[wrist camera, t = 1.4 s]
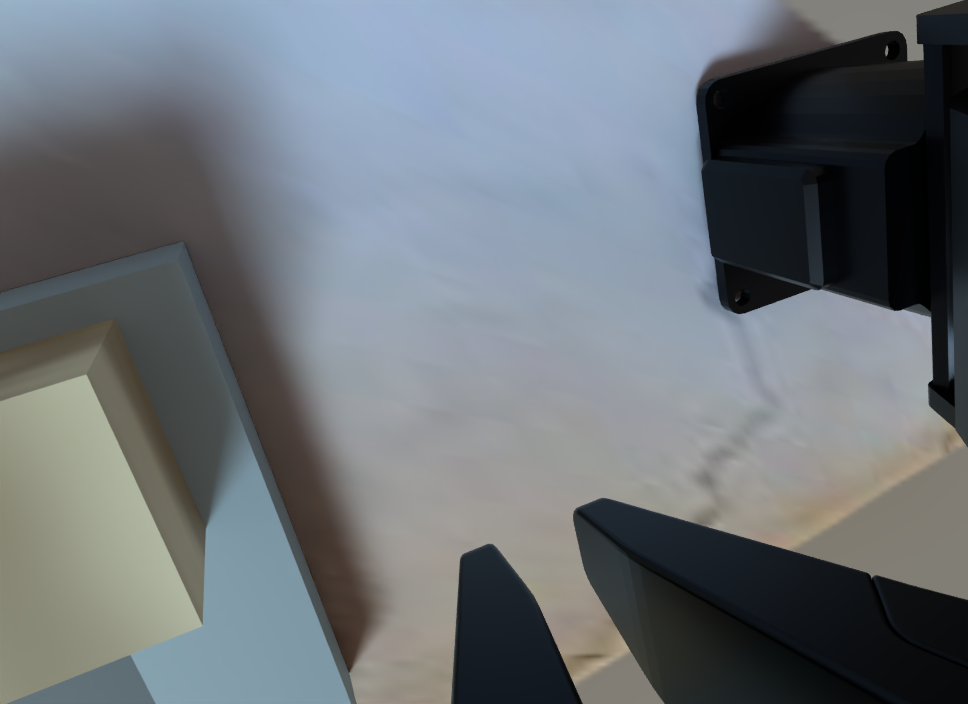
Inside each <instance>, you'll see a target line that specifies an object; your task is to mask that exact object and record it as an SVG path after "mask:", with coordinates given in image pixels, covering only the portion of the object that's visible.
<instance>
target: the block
mask: <svg viewBox="0 0 968 704" xmlns="http://www.w3.org/2000/svg"><path fill="white" fill-rule="evenodd" d="M205 540H206V528H205V525H204V523H203V521H202V518H201V516H200V514H199V511H198V509H197V507H196V504H195V502H194V500H193V498H192V495H191V493H190V491H189V488H188V486H187V484H186V481H185V479H184V477H183V475H182V472H181V470H180V468H179V465H178V463H177V461H176V458H175V456H174V454H173V452H172V449H171V447H170V445H169V442H168V440H167V438H166V435H165V433H164V431H163V429H162V426H161V424H160V422H159V419H158V417H157V415H156V412H155V410H154V408H153V405H152V403H151V401H150V399H149V396H148V394H147V392H146V389H145V387H144V385H143V382H142V380H141V378H140V376H139V373H138V371H137V369H136V366H135V364H134V362H133V359H132V357H131V355H130V353H129V350H128V348H127V346H126V343H125V341H124V339H123V336H122V334H121V332H120V329H119V327H118V325H117V323H116V320H115V319H111V320H108V321H104V322H101V323H98V324H94V325H91V326H88V327H84V328H81V329H78V330H74V331H71V332H67V333H64V334H61V335H57V336H54V337H51V338H47V339H44V340H41V341H37V342H34V343H31V344H27V345H24V346H20V347H17V348H14V349H10V350H7V351H4V352H0V704H7V703H10V702H12V701H15V700H17V699H20V698H22V697H25V696H27V695H30V694H32V693H35V692H37V691H40V690H42V689H45V688H48V687H50V686H53V685H55V684H58V683H60V682H63V681H65V680H68V679H70V678H73V677H75V676H78V675H80V674H83V673H85V672H88V671H91V670H93V669H96V668H98V667H101V666H103V665H106V664H108V663H111V662H113V661H116V660H118V659H121V658H123V657H126V656H129V655H131V654H134V653H136V652H139V651H141V650H144V649H146V648H149V647H151V646H154V645H156V644H159V643H161V642H164V641H166V640H169V639H172V638H174V637H177V636H179V635H182V634H184V633H187V632H189V631H192V630H194V629H197V628H199V627H202V626H203V604H204V572H205Z"/></svg>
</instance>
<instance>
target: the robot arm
mask: <svg viewBox="0 0 968 704" xmlns="http://www.w3.org/2000/svg"><path fill="white" fill-rule="evenodd" d="M916 18H917V44H923V51H924V60H920V61H907V44H906V39H905V37H904V36H903V34H902V33H900V32H898V31H890V32H883V33H878V34H874V35H870V36H867V37H863V38H859V39H856V40H852V41H848V42H845V43H841V44H838V45H834V46H830V47H827V48H823V49H820V50H816V51H812V52H809V53H805V54H801V55H798V56H794V57H791V58H787V59H783V60H780V61H776V62H773V63H769V64H765V65H762V66H758V67H754V68H751V69H747V70H744V71H740V72H736V73H733V74H729V75H726V76H722V77H718V78H715V79H711V80H709V81H707V82H705V83H704V84H703V85H702V86H701V88H700V89H699V91H698V94H697V100H696V105H697V114H698V122H699V131H700V139H701V148H702V156H703V164H704V166H703V168H702V181H703V189H704V198H705V206H706V214H707V223H708V231H709V239H710V248H711V254H712V256H713V257H714V258H715V266H716V274H717V283H718V291H719V299H720V302H721V305H722V306H723V307H724V308H725V309H726V310H729V311H731V312H734V313H737V314H743V313H747V312H749V311H752V310H755V309H758V308H761V307H763V306H766V305H769V304H772V303H774V302H777V301H780V300H783V299H786V298H788V297H791V296H794V295H797V294H799V293H802V292H805V291H808V290H810V289H813V290H820V289H822V290H826V291H829V292H832V293H836V294H839V295H843V296H846V297H849V298H853V299H856V300H860V301H863V302H866V303H870V304H873V305H877V306H880V307H883V308H887V309H890V310H894V311H899V310H903V309H904V310H907V311H911V312H914V313H918V314H921V315H925V316H928V317H931V327H932V362H933V380H932V381H931V382H929V384H928V396H929V406H930V407H931V408H932V409H933V410H934V411H936V412H937V413H938V414H939V415H940V416H941V417H943V418H944V419H945V420H946V421H947V422H948V423H949V424H951V425H952V426H953V427H954V428H955V430H956V431H957V433H958V434H959V435H960V437H961V438H962V440H963V441H964V443H965V444H966V446H967V447H968V0H964V1H960V2H957V3H954V4H951V5H947V6H944V7H941V8H937V9H934V10H931V11H927V12H924V13H921V14H918V15H917V16H916ZM886 46H888V55H887V56H886V55H885V49H886ZM716 91H719V92H720V95H721V102H720V104H719V106H718V107H717V108H716V107H715V105H714V102H713V98H714V95H715V93H716ZM740 289H741V291H742V294H741V297H740V299H739V300H738V301H735V296H736V294H737V292H738V291H739V290H740ZM573 521H574V526H575V531H576V535H577V540H578V544H579V549H580V554H581V558H582V563H583V567H584V570H585V573H586V575H587V578H588V580H589V582H590V584H591V585H592V587H593V589H594V591H595V592H596V594H597V596H598V597H599V599H600V601H601V602H602V604H603V606H604V607H605V609H606V611H607V612H608V614H609V616H610V617H611V619H612V621H613V622H614V624H615V626H616V627H617V629H618V631H619V632H620V634H621V636H622V637H623V639H624V641H625V642H626V644H627V646H628V647H629V649H630V651H631V652H632V654H633V656H634V657H635V659H636V661H637V662H638V664H639V666H640V667H641V669H642V671H643V672H644V674H645V675H646V677H647V679H648V680H649V682H650V684H651V685H652V687H653V688H654V690H655V691H656V692H657V694H658V695H659V696H660V698H661V699H662V701H663V702H664V703H665V704H968V600H965V599H962V598H958V597H954V596H950V595H946V594H943V593H939V592H935V591H932V590H928V589H924V588H920V587H917V586H913V585H909V584H906V583H902V582H899V581H895V580H892V579H888V578H885V577H881V576H878V575H875V576H873V577H872V579H871V576H870V575H869V574H868V573H866V572H863V571H859V570H856V569H852V568H849V567H845V566H842V565H838V564H835V563H831V562H828V561H824V560H820V559H817V558H814V557H810V556H807V555H803V554H800V553H796V552H793V551H789V550H786V549H782V548H779V547H775V546H772V545H768V544H765V543H761V542H758V541H754V540H751V539H747V538H744V537H740V536H737V535H734V534H730V533H727V532H723V531H720V530H716V529H713V528H709V527H706V526H702V525H699V524H695V523H692V522H688V521H685V520H681V519H678V518H674V517H671V516H667V515H664V514H660V513H657V512H653V511H650V510H646V509H643V508H639V507H636V506H632V505H629V504H625V503H622V502H618V501H615V500H611V499H607V498H600V499H597V500H595V501H593V502H590V503H588V504H585V505H583V506H580V507H578V508H576V509H575V511H574V513H573ZM451 704H583V703H582V701H581V699H580V697H579V695H578V693H577V690H576V688H575V685H574V683H573V681H572V679H571V677H570V674H569V672H568V670H567V668H566V665H565V663H564V661H563V659H562V656H561V654H560V652H559V650H558V647H557V645H556V643H555V641H554V638H553V636H552V634H551V632H550V629H549V627H548V625H547V623H546V620H545V618H544V616H543V614H542V611H541V609H540V607H539V605H538V603H537V601H536V599H535V597H534V596H533V594H532V593H531V591H530V590H529V589H528V587H527V586H526V584H525V583H524V582H523V581H522V579H521V578H520V577H519V576H518V574H517V573H516V572H515V570H514V569H513V568H512V567H511V565H510V564H509V563H508V562H507V560H506V559H505V558H504V556H503V555H502V554H501V553H500V551H499V550H498V549H497V548H496V547H495V546H494V545H493V544H487V545H484V546H482V547H479V548H477V549H474V550H472V551H469V552H467V553H465V554H463V555H462V556H461V559H460V569H459V585H458V601H457V617H456V633H455V649H454V665H453V681H452V697H451Z"/></svg>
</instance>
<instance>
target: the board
mask: <svg viewBox="0 0 968 704" xmlns="http://www.w3.org/2000/svg"><path fill="white" fill-rule="evenodd" d="M111 319H115V320H116V323H117V325H118V327H119V329H120V332H121V334H122V336H123V339H124V341H125V343H126V346H127V348H128V350H129V353H130V355H131V357H132V359H133V362H134V364H135V366H136V369H137V371H138V373H139V376H140V378H141V380H142V382H143V385H144V387H145V389H146V392H147V394H148V396H149V399H150V401H151V403H152V405H153V408H154V410H155V412H156V415H157V417H158V419H159V422H160V424H161V426H162V429H163V431H164V433H165V435H166V438H167V440H168V442H169V445H170V447H171V449H172V452H173V454H174V456H175V458H176V461H177V463H178V465H179V468H180V470H181V472H182V475H183V477H184V479H185V481H186V484H187V486H188V488H189V491H190V493H191V495H192V498H193V500H194V502H195V504H196V507H197V509H198V511H199V514H200V516H201V518H202V521H203V523H204V525H205V528H206V540H205V572H204V604H203V626H202V627H199V628H197V629H194V630H192V631H189V632H187V633H184V634H182V635H179V636H177V637H174V638H172V639H169V640H166V641H164V642H161V643H159V644H156V645H154V646H151V647H149V648H146V649H144V650H141V651H139V652H136V653H134V654H131V655H129V656H126V657H123V658H121V659H118V660H116V661H113V662H111V663H108V664H106V665H103V666H101V667H98V668H96V669H93V670H91V671H88V672H85V673H83V674H80V675H78V676H75V677H73V678H70V679H68V680H65V681H63V682H60V683H58V684H55V685H53V686H50V687H48V688H45V689H42V690H40V691H37V692H35V693H32V694H30V695H27V696H25V697H22V698H20V699H17V700H15V701H12V702H10V703H7V704H356V700H355V696H354V692H353V687H352V683H351V679H350V675H349V672H348V669H347V667H346V664H345V661H344V659H343V656H342V654H341V651H340V648H339V646H338V643H337V641H336V638H335V635H334V633H333V630H332V628H331V625H330V622H329V620H328V617H327V615H326V612H325V609H324V607H323V604H322V601H321V599H320V596H319V594H318V591H317V588H316V586H315V583H314V581H313V578H312V575H311V573H310V570H309V568H308V565H307V562H306V560H305V557H304V554H303V552H302V549H301V547H300V544H299V541H298V539H297V536H296V534H295V531H294V528H293V526H292V523H291V521H290V518H289V515H288V513H287V510H286V507H285V505H284V502H283V500H282V497H281V494H280V492H279V489H278V487H277V484H276V481H275V479H274V476H273V474H272V471H271V468H270V466H269V463H268V461H267V458H266V455H265V453H264V450H263V447H262V445H261V442H260V440H259V437H258V434H257V432H256V429H255V427H254V424H253V421H252V419H251V416H250V414H249V411H248V408H247V406H246V403H245V400H244V398H243V395H242V393H241V390H240V387H239V385H238V382H237V380H236V377H235V374H234V372H233V369H232V367H231V364H230V361H229V359H228V356H227V353H226V351H225V348H224V346H223V343H222V340H221V338H220V335H219V333H218V330H217V327H216V325H215V322H214V320H213V317H212V314H211V312H210V309H209V307H208V304H207V301H206V299H205V296H204V293H203V291H202V288H201V286H200V283H199V280H198V278H197V275H196V273H195V270H194V267H193V265H192V262H191V260H190V257H189V254H188V252H187V249H186V246H185V244H184V241H182V242H178V243H175V244H171V245H167V246H164V247H160V248H157V249H153V250H150V251H146V252H143V253H139V254H135V255H132V256H128V257H125V258H121V259H118V260H114V261H111V262H107V263H103V264H100V265H96V266H93V267H89V268H86V269H82V270H79V271H75V272H71V273H68V274H64V275H61V276H57V277H54V278H50V279H47V280H43V281H39V282H36V283H32V284H29V285H25V286H22V287H18V288H15V289H11V290H7V291H4V292H0V352H4V351H7V350H10V349H14V348H17V347H20V346H24V345H27V344H31V343H34V342H37V341H41V340H44V339H47V338H51V337H54V336H57V335H61V334H64V333H67V332H71V331H74V330H78V329H81V328H84V327H88V326H91V325H94V324H98V323H101V322H104V321H108V320H111Z"/></svg>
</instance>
